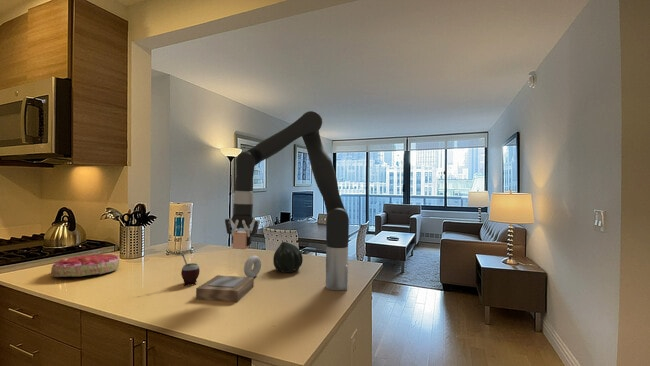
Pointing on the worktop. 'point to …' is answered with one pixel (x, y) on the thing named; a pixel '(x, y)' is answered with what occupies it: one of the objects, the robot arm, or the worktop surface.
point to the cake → (85, 265)
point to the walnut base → (225, 288)
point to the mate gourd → (189, 272)
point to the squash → (287, 258)
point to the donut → (248, 266)
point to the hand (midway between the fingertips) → (241, 245)
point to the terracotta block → (240, 240)
